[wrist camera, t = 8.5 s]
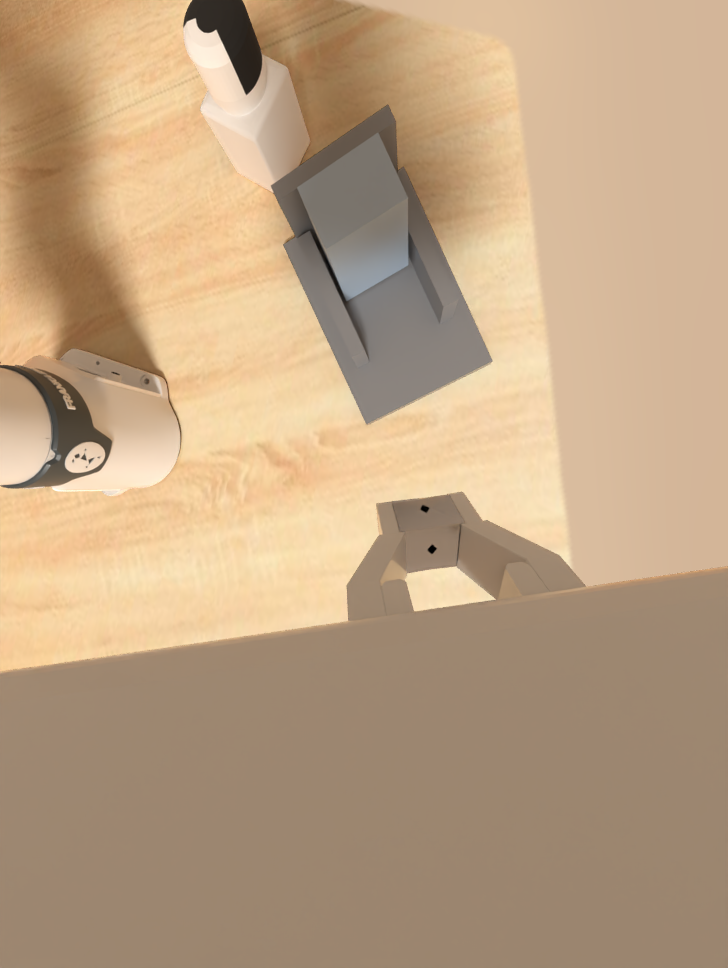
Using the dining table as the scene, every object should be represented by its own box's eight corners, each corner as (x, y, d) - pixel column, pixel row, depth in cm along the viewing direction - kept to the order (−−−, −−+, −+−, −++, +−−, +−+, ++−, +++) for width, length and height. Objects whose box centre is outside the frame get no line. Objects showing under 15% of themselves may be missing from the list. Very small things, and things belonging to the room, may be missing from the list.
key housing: (490, 363, 35) (517, 331, 26) (367, 425, 38) (354, 414, 29) (403, 175, 35) (402, 77, 26) (286, 250, 37) (248, 185, 29)
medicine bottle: (263, 115, 37) (194, -49, 25) (312, 141, 36) (264, -14, 24) (236, 174, 38) (157, 43, 26) (283, 200, 37) (224, 79, 25)
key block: (408, 265, 34) (408, 197, 25) (346, 301, 36) (325, 249, 27) (386, 216, 34) (378, 132, 25) (324, 255, 36) (296, 187, 27)
